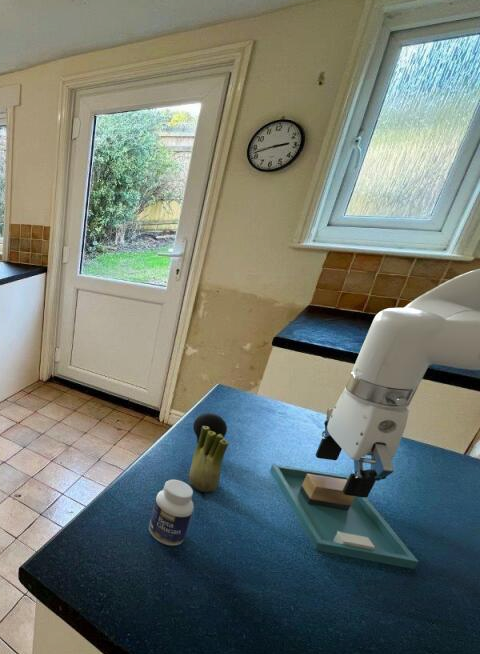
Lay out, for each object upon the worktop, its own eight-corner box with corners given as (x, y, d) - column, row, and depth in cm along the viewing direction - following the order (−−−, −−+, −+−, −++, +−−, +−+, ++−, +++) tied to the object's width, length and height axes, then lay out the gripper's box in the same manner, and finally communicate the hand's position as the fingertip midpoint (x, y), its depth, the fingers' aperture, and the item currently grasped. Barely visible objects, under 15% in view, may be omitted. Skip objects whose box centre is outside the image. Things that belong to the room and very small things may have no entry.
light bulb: (181, 446, 89) (192, 407, 85) (210, 448, 89) (222, 408, 84) (192, 464, 84) (204, 422, 80) (222, 465, 84) (236, 424, 79)
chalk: (362, 546, 65) (368, 537, 64) (369, 556, 63) (375, 547, 62) (332, 540, 66) (337, 531, 65) (338, 550, 64) (343, 541, 63)
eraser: (337, 496, 75) (346, 479, 73) (348, 510, 72) (357, 493, 70) (299, 490, 76) (307, 473, 75) (307, 504, 73) (316, 486, 71)
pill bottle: (149, 542, 67) (161, 495, 62) (147, 517, 71) (158, 473, 67) (186, 550, 65) (201, 503, 61) (181, 525, 70) (195, 480, 66)
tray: (344, 484, 79) (349, 475, 78) (412, 571, 62) (419, 561, 61) (268, 472, 82) (272, 464, 81) (313, 552, 65) (318, 542, 64)
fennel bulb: (184, 473, 81) (198, 422, 76) (211, 478, 80) (228, 426, 75) (189, 494, 76) (205, 440, 71) (219, 499, 75) (237, 445, 70)
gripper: (450, 421, 56) (396, 516, 63) (376, 367, 71) (339, 449, 78) (382, 414, 58) (338, 507, 65) (324, 363, 72) (293, 443, 80)
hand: (339, 475), depth 71 cm, fingers open, 9 cm apart
